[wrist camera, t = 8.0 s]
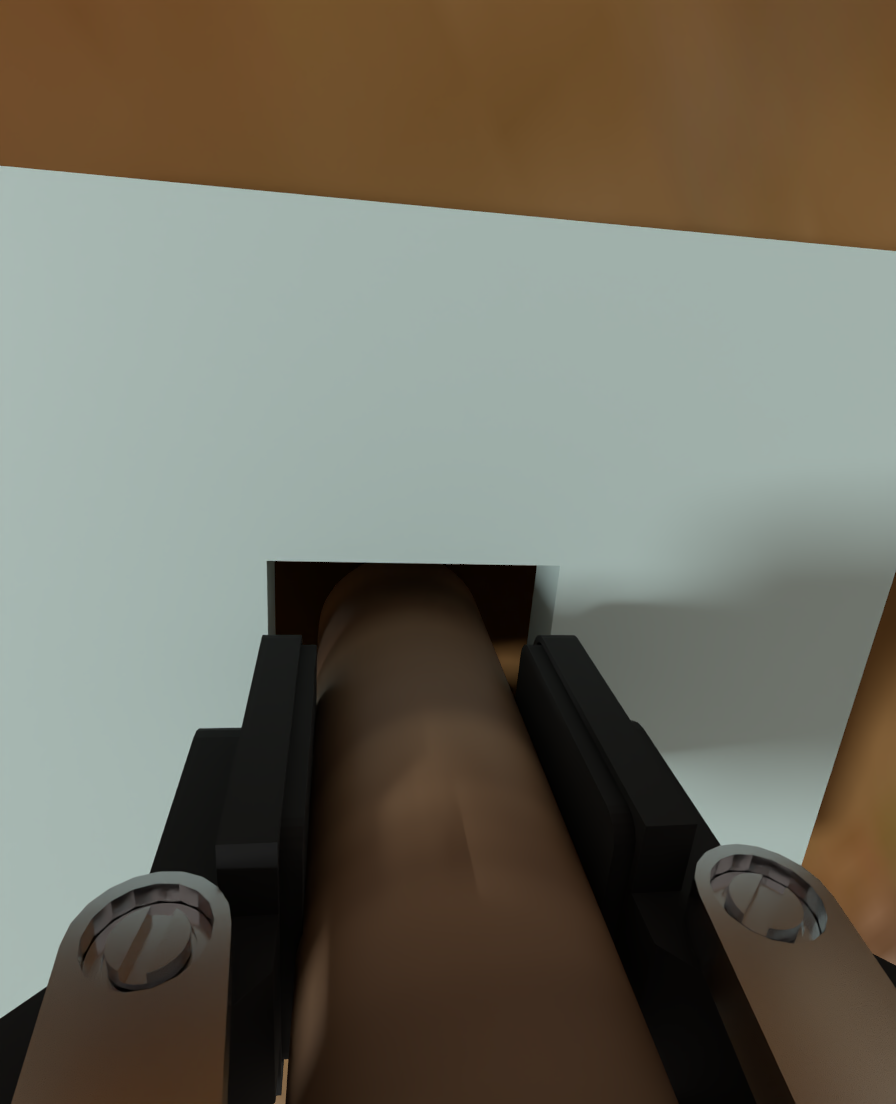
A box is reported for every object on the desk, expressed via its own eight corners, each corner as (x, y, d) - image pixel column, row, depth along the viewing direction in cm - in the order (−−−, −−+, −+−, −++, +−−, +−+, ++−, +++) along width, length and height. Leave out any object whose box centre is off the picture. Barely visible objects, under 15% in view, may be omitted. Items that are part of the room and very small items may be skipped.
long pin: (319, 553, 12) (249, 1351, 3) (486, 556, 13) (845, 1259, 4) (317, 700, 14) (264, 1616, 4) (472, 698, 14) (724, 1520, 5)
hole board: (-86, 183, 11) (-295, 138, 8) (821, 265, 14) (995, 260, 10) (31, 863, 16) (-60, 1035, 13) (683, 834, 19) (766, 971, 15)
